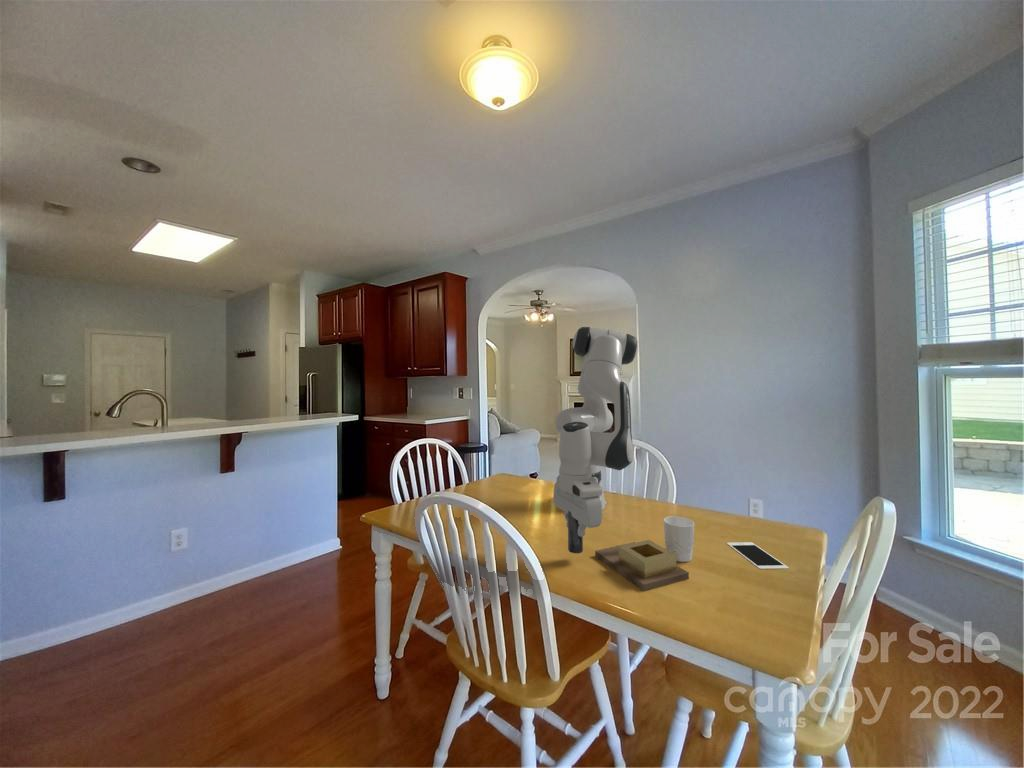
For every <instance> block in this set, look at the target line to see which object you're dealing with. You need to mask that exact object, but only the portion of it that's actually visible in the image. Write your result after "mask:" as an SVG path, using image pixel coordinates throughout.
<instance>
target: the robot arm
mask: <svg viewBox="0 0 1024 768" xmlns="http://www.w3.org/2000/svg"><path fill="white" fill-rule="evenodd" d="M572 348H573V352H574V354H576V355H577V356H579V357H582V358H583V357H585V359H584V361H583V363H582V364H583V365H582V368H581V373H580V377H579V381H578V385H577V392H578V394H579V396H580V397H582V398H583V405H582V406H581V407H579V406H578V407H570V408H569V407H568V408H567V409H566V408H565V409H563V410H561V411H559V412H558V413H557V415H556V417H555V426H556V430H557V432H558V433H559V444H558V446H559V447H558V457H559V461H560V463H559V469H558V471H559V472H558V476H557V477H556V481H555V482H554V487H553V497H552V498H553V504H554V506H555V507H556V508H558V509H560V510H561V511H563V514H564V519H565V521H566V527H567V528H568V511H569V512H571V515H572V517H573V518H575V519H576V520H578V524H579V527H578V528H576V531H577V532H576V534H577V535H578V536H580V537H582V536H583V537H585V536H586V529H587V528H589V529H593V528H597V527H600V526H601V524H602V522H603V511H604V510H605V507H606V505H608V504H607V500H605V493H604V492H605V491H604V483H602V482H601V481H602V470H601V467H604V468H609V469H612V470H616V471H621V470H623V469H626V468H627V467H628V466H630V465H631V464H632V462H633V459H634V445H633V436H632V418H631V417H632V416H631V415H632V414H631V411H632V410H631V398H630V396H631V395H630V390H629V387H628V385H627V383H626V382H624V381H622V377H621V371H622V366H623V365H628V364H631V363H632V362H633V361H634V360H635V358H636V357H637V355H638V351H639V344H638V339H637V337H635V336H634V335H632V334H629V333H626V334H625V333H623V332H620V331H616V330H613V329H612V330H611V329H604V328H596V327H595V328H594V327H590V326H581V327H580V328H578V329H577V331H576V333H575V334H574V335H573V339H572ZM607 401H608V402H611V404H613V409H614V416H613V413H612V412H611V410H610V409H609V408H608V402H607ZM613 423H614V431H612V432H606V431H609V430H610V429H611V428H612V426H613Z"/></svg>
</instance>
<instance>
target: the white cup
mask: <svg viewBox="0 0 1024 768" xmlns="http://www.w3.org/2000/svg"><path fill="white" fill-rule="evenodd" d="M663 529H664V531H663V532H664V545H665V549H666V550H668V551H670V552H672V553H674V554H676V562H680V563H687V562H688V563H689V562H691V561H692V560H693V549H694V539H695V535H694V534H695V521H693V519H690V518H687V517H683V516H676V515H675V516H666V517H665V518H663Z"/></svg>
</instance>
